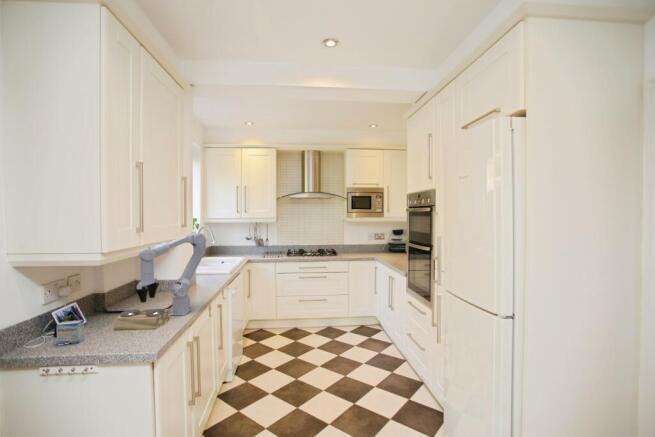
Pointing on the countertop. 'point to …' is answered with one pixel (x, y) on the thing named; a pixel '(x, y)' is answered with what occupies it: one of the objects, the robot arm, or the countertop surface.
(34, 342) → the countertop surface
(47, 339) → the countertop surface
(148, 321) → the block
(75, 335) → the medicine box
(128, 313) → the peg
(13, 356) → the countertop surface
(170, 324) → the countertop surface
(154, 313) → the peg
